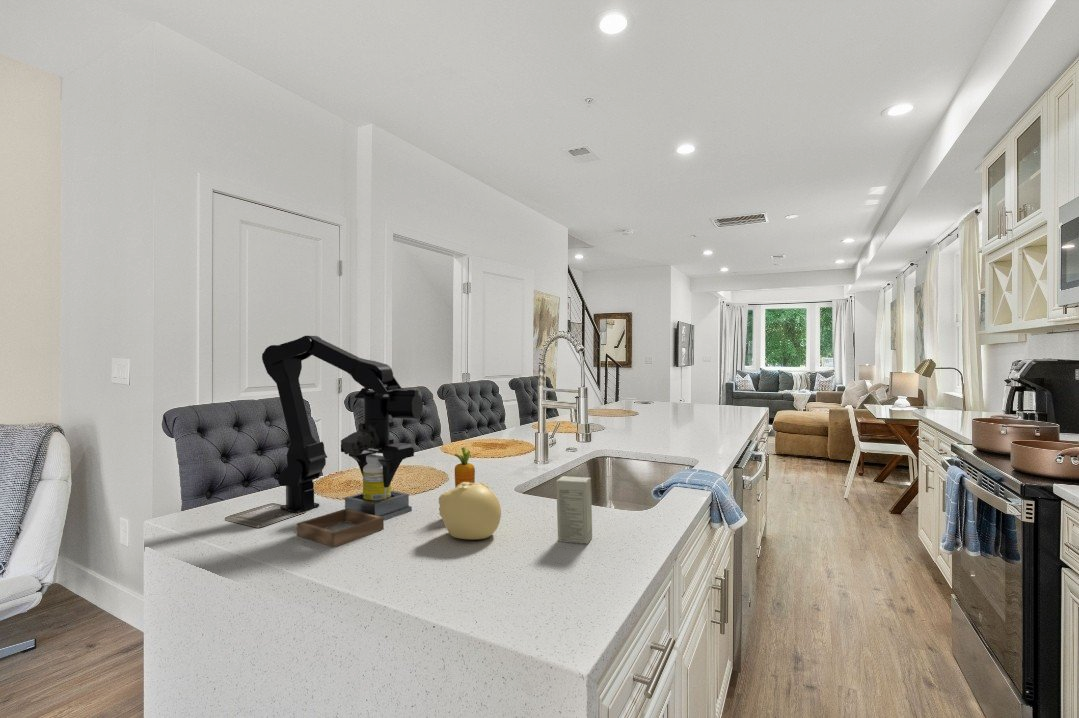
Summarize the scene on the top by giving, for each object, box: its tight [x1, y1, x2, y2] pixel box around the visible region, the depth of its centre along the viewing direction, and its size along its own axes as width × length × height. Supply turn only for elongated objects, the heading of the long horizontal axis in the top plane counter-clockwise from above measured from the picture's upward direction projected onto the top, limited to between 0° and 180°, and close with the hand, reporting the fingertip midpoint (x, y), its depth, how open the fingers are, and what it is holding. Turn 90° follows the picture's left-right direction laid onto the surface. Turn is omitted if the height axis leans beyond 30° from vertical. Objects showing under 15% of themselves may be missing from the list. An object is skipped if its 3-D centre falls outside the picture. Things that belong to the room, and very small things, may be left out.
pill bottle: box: [362, 452, 392, 503], centre depth 124 cm, size 6×6×11 cm
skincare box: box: [555, 475, 593, 544], centre depth 106 cm, size 6×4×12 cm
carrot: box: [454, 447, 476, 488], centre depth 124 cm, size 5×5×15 cm
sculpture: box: [438, 482, 502, 540], centre depth 109 cm, size 11×12×11 cm
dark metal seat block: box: [344, 490, 413, 521], centre depth 124 cm, size 11×11×4 cm
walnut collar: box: [296, 508, 385, 548], centre depth 111 cm, size 12×12×2 cm
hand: (376, 485), depth 124 cm, fingers closed on pill bottle, 6 cm apart
